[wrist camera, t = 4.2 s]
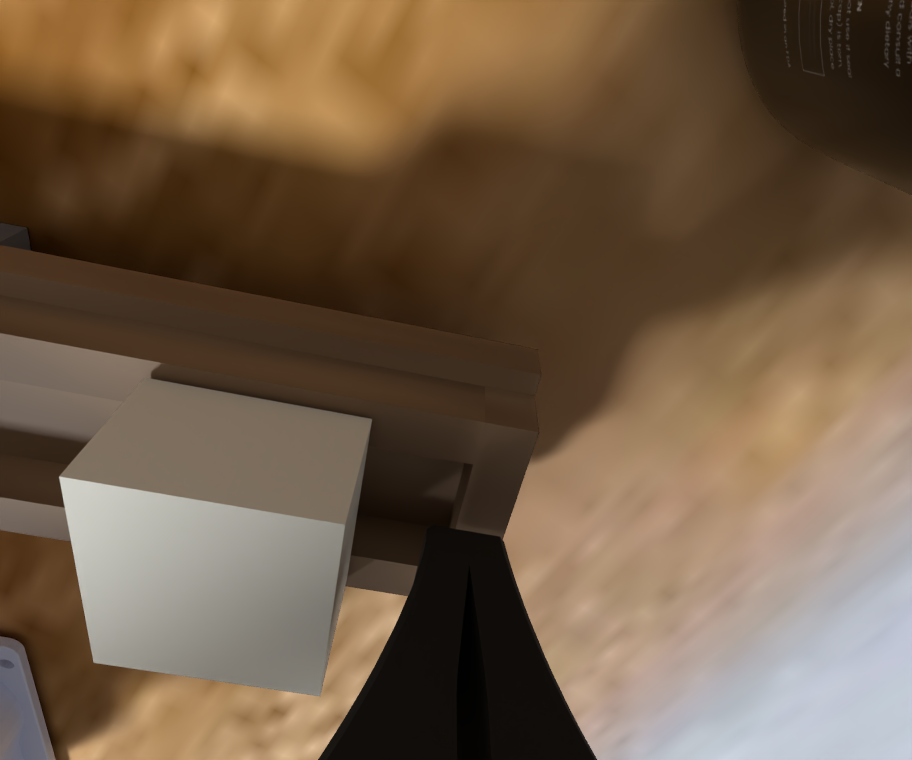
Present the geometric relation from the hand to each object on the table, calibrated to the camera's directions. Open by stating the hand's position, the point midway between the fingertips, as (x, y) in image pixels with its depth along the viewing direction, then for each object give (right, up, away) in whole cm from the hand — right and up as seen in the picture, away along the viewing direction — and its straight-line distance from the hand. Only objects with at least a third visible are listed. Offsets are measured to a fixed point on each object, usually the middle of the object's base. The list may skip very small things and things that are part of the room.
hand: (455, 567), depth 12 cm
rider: (-4, +2, +2) cm, 5 cm away
